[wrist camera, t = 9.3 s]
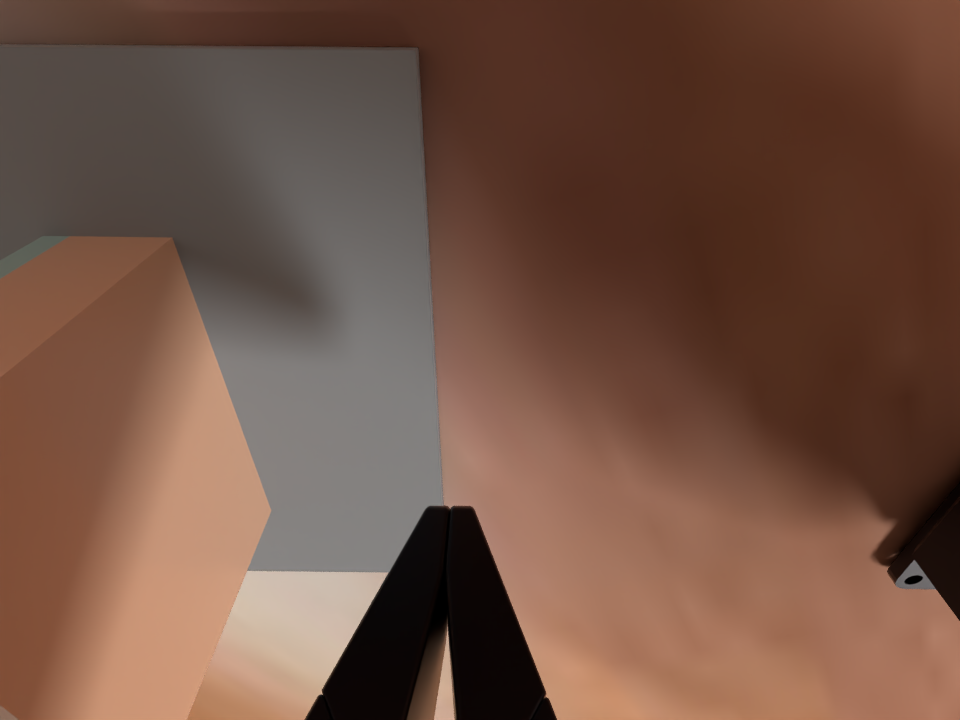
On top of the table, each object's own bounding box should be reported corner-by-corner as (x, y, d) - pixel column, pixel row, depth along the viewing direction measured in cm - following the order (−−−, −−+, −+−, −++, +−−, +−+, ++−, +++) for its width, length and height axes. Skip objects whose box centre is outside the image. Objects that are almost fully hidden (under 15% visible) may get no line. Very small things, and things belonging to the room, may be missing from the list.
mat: (418, 47, 8) (415, 50, 8) (446, 561, 16) (445, 573, 16) (-596, 38, 8) (-641, 41, 8) (-56, 555, 16) (-67, 566, 16)
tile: (172, 237, 10) (-211, 547, 4) (271, 510, 14) (147, 816, 9) (43, 235, 10) (-495, 543, 4) (184, 509, 14) (10, 815, 9)
